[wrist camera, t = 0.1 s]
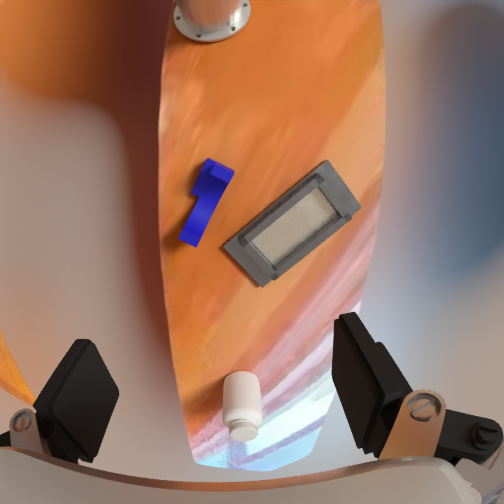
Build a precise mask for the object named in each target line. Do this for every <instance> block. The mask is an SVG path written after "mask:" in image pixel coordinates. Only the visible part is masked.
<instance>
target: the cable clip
mask: <svg viewBox="0 0 504 504" xmlns="http://www.w3.org/2000/svg"><path fill="white" fill-rule="evenodd" d="M234 172H235V171H234V170H232V169H230V168H228V167H226V166H224V165H222V164H220V163H218V162H216V161H214V160H212V159H210V158H208V159H207V160H206V162H205V164H204V166H203V168H202V170H201V172H200V174H199V176H198V179H197V181H196V183H195V186H194V188H193V190H192V192H191V193H192V194H194V195H196V196H198V197H199V199H198V201H197V203H196V205H195V207H194V209H193V211H192V213H191V215H190V217H189V219H188V221H187V222H186V224H185V226H184V228H183V229H182V231H181V234H180V236H179V238H178V239H180V240H182V241H184V242H186V243H188V244H190V245H192V246H194V247H197V245H198V243H199V241H200V239H201V237H202V235H203V232H204V230H205V228H206V226H207V224H208V222H209V220H210V218H211V216H212V214H213V212H214V210H215V208H216V206H217V204H218V202H219V200H220V198H221V196H222V194H223V193H224V191H225V189H226V187H227V185H228V184H229V182H230V180H231V179H232V177H233V175H234Z"/></svg>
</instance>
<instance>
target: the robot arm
mask: <svg viewBox="0 0 504 504" xmlns="http://www.w3.org/2000/svg"><path fill="white" fill-rule="evenodd" d="M175 2H176V4H177V5H176V7H175V10H174V17H173V18H174V23H175V25H176V27H177V29H178V30H179V32H180V33H182V34H183V35H184V36H186V37H187V38H189V39H192V40H195V41H199V42H216V41H221V40H225V39H227V38H230V37H232V36H234V35H235V34H237V33H238V32H239V31H241V30H242V29H243V28H244V26H245V25H246V24H247V22H248V20H249V17H250V10H251V8H250V3H249V1H248V0H175ZM244 6H246V7H244ZM178 19H179V20H178ZM232 30H235V31H232ZM199 36H200V38H198V37H199ZM332 379H333V382H334V385H335V387H336V390H337V393H338V395H339V398H340V401H341V404H342V407H343V409H344V412H345V415H346V418H347V420H348V423H349V426H350V429H351V432H352V434H353V437H354V440H355V443H356V446H357V448H358V449H360V448H363V451H364V454H368V453H372V452H373V454H374V457H376V458H378V460H377V461H372V462H366V463H362V464H357V465H353V466H348V467H343V468H338V469H334V470H329V471H325V472H319V473H313V474H308V475H301V476H294V477H287V478H279V479H271V480H260V481H247V482H221V483H220V482H219V483H218V482H212V483H211V482H182V481H168V480H158V479H149V478H142V477H135V476H128V475H122V474H117V473H111V472H107V471H103V470H98V469H94V468H90V467H85V466H82V465H79V463H78V459H81V460H82V461H85V462H89V463H92V462H93V459H94V457H96V456H97V454H98V451H99V448H100V446H101V443H102V439H103V437H104V434H105V432H106V429H107V426H108V423H109V421H110V418H111V415H112V413H113V410H114V408H115V405H116V402H117V400H118V397H119V390H118V387H117V386H116V384H115V382H114V380H113V378H112V377H111V375H110V373H109V371H108V369H107V367H106V365H105V363H104V362H103V360H102V358H101V356H100V354H99V352H98V350H97V348H96V346H95V344H94V343H92V341H90V340H89V339H77V340H75V342H74V343H73V344H72V346H71V347H70V349H69V350H68V352H67V353H66V355H65V356H64V357H63V359H62V360H61V362H60V363H59V365H58V367H57V368H56V369H55V371H54V372H53V374H52V376H51V377H50V379H49V380H48V382H47V383H46V385H45V386H44V388H43V390H42V391H41V393H40V394H39V396H38V398H37V399H36V401H35V403H34V404H33V407H34V408H35V409H36V411H37V412H36V413H34V412H33V411H32V410H30V409H22V410H19V411H18V412H16V413H15V414H14V415H13V417H12V418H11V420H10V424H9V428H10V430H9V431H7V432H5V433H3V434H1V435H0V504H478V503H477V500H476V498H475V496H474V494H473V493H472V491H471V489H470V487H469V486H468V484H467V482H466V481H468V482H470V483H471V484H472V486H471V487H473V488H474V489H476V490H477V491H478V492H479V493H480V494H481V497H482V504H504V436H503V431H502V428H501V427H500V425H499V424H498V423H497V422H495V421H494V420H491V419H488V418H482V417H478V416H474V415H469V414H465V413H461V412H456V411H452V410H448V409H446V404H445V401H444V399H443V398H442V397H441V396H440V395H439V394H438V393H436V392H434V391H431V390H426V389H421V390H416V391H414V392H413V390H412V389H411V387H410V385H409V384H408V382H407V380H406V379H405V377H404V376H403V374H402V372H401V371H400V369H399V368H398V366H397V365H396V363H395V361H394V360H393V358H392V357H391V355H390V354H389V352H388V351H387V349H386V348H385V346H384V345H383V344H382V343H381V342H376V343H375V342H374V340H373V338H372V337H371V335H370V334H369V332H368V331H367V329H366V328H365V326H364V324H363V323H362V321H361V320H360V318H359V317H358V315H357V314H356V313H355V312H351V313H346V314H340V315H339V319H335V321H334V339H333V358H332ZM465 480H466V481H465Z"/></svg>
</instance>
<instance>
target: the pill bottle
mask: <svg viewBox="0 0 504 504" xmlns="http://www.w3.org/2000/svg"><path fill="white" fill-rule="evenodd" d="M262 420H263V413H262V403H261V394H260V384H259V380H258V378H257V377H256V376H255V375H254V374H253V373H250V372H247V371H236V372H233V373H231V374H229V375H228V376H227V377H226V378H225V380H224V387H223V422H224V424H225V425H226V427H228V428H229V429H230V437H231V438H232V439H234V440H237V441H250V440H253V439H254V438H256V437H257V435H258V427H259V426H260V425H261V423H262Z"/></svg>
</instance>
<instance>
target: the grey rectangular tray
mask: <svg viewBox="0 0 504 504" xmlns="http://www.w3.org/2000/svg"><path fill="white" fill-rule="evenodd" d="M360 208H362V207H361V206H360V204H359V203H358V202H357V200H356V199H355V197H354V196H353V194H352V193H351V191H350V190H349V188H348V187H347V186H346V184H345V183H344V181H343V180H342V179H341V177H340V176H339V174H338V173H337V172H336V170H335V169H334V168H333V166H332V165H331V164H330V162H329V161H328V160H325V161H324V162H323V163H321V164H320V165H319V166H318V167H316V168H315V169H314V170H313V171H311V172H310V173H309V174H308V175H307V176H305V177H304V178H303V179H302V180H300V181H299V182H298V183H297V184H296V185H294V186H293V187H292V188H291V189H289V190H288V191H287V192H286V193H285V194H283V195H282V196H281V197H280V198H278V199H277V200H276V201H275V202H274V203H272V204H271V205H270V206H269V207H268V208H266V209H265V210H264V211H263V212H262V213H260V214H259V215H258V216H257V217H256V218H254V219H253V220H252V221H251V222H250V223H248V224H247V225H246V226H245V227H244V228H243V229H241V230H240V231H239V232H238V233H237V234H235V235H234V236H233V237H232V238H231V239H230V240H228V241H227V242H226V243H225V244H224V245H223V247H224V248H225V249H226V250H227V252H228V253H229V254H230V255H231V256H232V257H233V258H234V259H235V260H236V261H237V262H238V263H239V264H240V265H241V266H242V267H243V268H244V269H245V270H246V271H247V272H248V273H249V275H250V276H251V277H252V278H253V279H254V280H255V281H256V282H257V283H258V284H259V285H260V286H261V287H264V286H265V285H266V284H268V283H269V282H270V281H271V280H274V281H275V280H276V279H277V278H278V277H280V276H281V275H282V274H284V273H285V272H286V271H287V270H289V269H290V268H291V267H292V266H294V265H295V264H296V263H297V262H299V261H300V260H301V259H303V258H304V257H305V256H306V255H308V254H309V253H310V252H311V251H312V250H314V249H315V248H316V247H317V246H319V245H320V244H321V243H322V242H324V241H325V240H326V239H327V238H329V237H330V236H331V235H332V234H333V233H335V232H336V231H337V230H338V229H340V228H341V227H342V226H343V225H344V224H346V223H347V222H348V221H349V220H350V219H352V217H351V216H352V215H353V214H355V213H356V212H357V211H358V210H359V209H360Z"/></svg>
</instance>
